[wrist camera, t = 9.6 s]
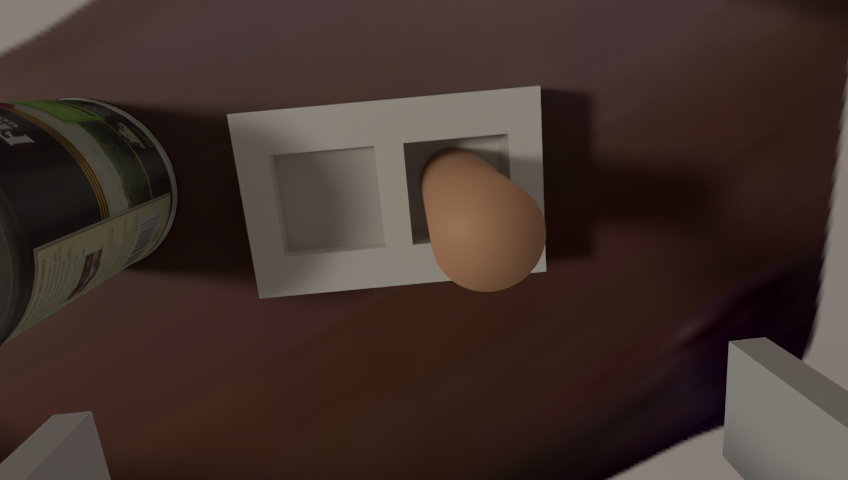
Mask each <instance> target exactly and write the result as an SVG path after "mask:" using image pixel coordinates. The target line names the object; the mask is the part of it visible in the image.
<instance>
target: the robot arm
mask: <svg viewBox="0 0 848 480" xmlns="http://www.w3.org/2000/svg"><path fill="white" fill-rule="evenodd" d="M723 456H724V457H725V459H726V460H727V461H728V462H729V463H730V464H731V465H732V466H733V467H734V468H735V470H736V471H737V472H738V473H739V474H740V475H741V476H742V477H743V478H744V479H745V480H848V391H847V390H845V389H844V388H842V387H841V386H839V385H838V384H836V383H834V382H833V381H831V380H829V379H828V378H827V377H825V376H824V375H822V374H821V373H819V372H817V371H816V370H814V369H813V368H811V367H810V366H808V365H807V364H805V363H804V362H802V361H801V360H799V359H798V358H796V357H795V356H793V355H791V354H790V353H788V352H787V351H785V350H784V349H782V348H781V347H779V346H778V345H776V344H775V343H773V342H772V341H770V340H768V339H767V338H765V337H764V338H755V339H746V340H737V341H729V352H728V370H727V389H726V407H725V426H724V444H723ZM0 480H111V479H110V475H109V472H108V468H107V465H106V461H105V458H104V454H103V451H102V447H101V444H100V440H99V436H98V433H97V429H96V426H95V422H94V419H93V415H92V412H91V411H87V412H78V413H69V414H60V415H53V416H52V417H51V418H49V419H48V420H47V421H46V422H45V423H44V424H43V425H42V426H41V427H40V428H39V429H38V430H37V431H35V432H34V433H33V434H32V435H31V436H30V437H29V438H28V439H27V440H26V441H25V442H24V443H23V444H21V445H20V446H19V447H18V448H17V449H16V450H15V451H14V452H13V453H12V454H11V455H10V456H8V457H7V458H6V459H5V460H4V461H3V462H2V463H1V464H0Z"/></svg>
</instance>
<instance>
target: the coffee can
mask: <svg viewBox="0 0 848 480" xmlns="http://www.w3.org/2000/svg"><path fill="white" fill-rule="evenodd" d="M177 197H178V190H177V184H176V179H175V174H174V171H173V168H172V165H171V162H170V160H169V158H168V156H167V154H166V152H165V151H164V149H163V147H162V146H161V144H160V143H159V141H158V140H157V139H156V138H155V136H154V135H153V134H152V133H151V132H150V131H149V130H148V129H147V128H146V127H145V126H144V125H143V124H142V123H141V122H139V121H138V120H137V119H135V118H134V117H133V116H131V115H130V114H128V113H126V112H125V111H123V110H121V109H119V108H117V107H114V106H112V105H109V104H106V103H103V102H99V101H95V100H90V99H85V98H67V99H59V100H38V101H1V102H0V346H1V345H3V344H4V343H6V342H8V341H9V340H11V339H12V338H14V337H16V336H17V335H19V334H20V333H22V332H24V331H25V330H27V329H29V328H30V327H32V326H33V325H35V324H36V323H38V322H40V321H41V320H43V319H45V318H46V317H48V316H49V315H51V314H53V313H55V312H56V311H58V310H59V309H61V308H62V307H64V306H66V305H67V304H69V303H71V302H72V301H74V300H75V299H77V298H79V297H80V296H82V295H83V294H85V293H87V292H88V291H90V290H91V289H93V288H94V287H96V286H98V285H99V284H101V283H102V282H104V281H105V280H107V279H109V278H110V277H112V276H113V275H115V274H117V273H118V272H120V271H121V270H123V269H125V268H126V267H128V266H129V265H131V264H133V263H136V262H138V261H140V260H141V259H143V258H145V257H146V256H148V255H149V254H151V253H152V252H153V251H154V250H156V249H157V247H158V246H159V245H160V244H161V243H162V241H163V240H164V239H165V237H166V235H167V234H168V232H169V230H170V228H171V226H172V223H173V221H174V218H175V214H176V208H177Z"/></svg>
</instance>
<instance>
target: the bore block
mask: <svg viewBox="0 0 848 480" xmlns="http://www.w3.org/2000/svg"><path fill="white" fill-rule="evenodd" d="M227 119H228V124H229V130H230V136H231V141H232V147H233V153H234V158H235V164H236V169H237V175H238V181H239V186H240V192H241V198H242V203H243V209H244V214H245V220H246V226H247V231H248V237H249V243H250V248H251V254H252V259H253V265H254V271H255V276H256V282H257V288H258V293H259V299H260V298H270V297H281V296H291V295H302V294H312V293H323V292H334V291H344V290H355V289H365V288H376V287H386V286H397V285H408V284H418V283H429V282H439V281H450V280H451V279H450V278H449V277H448V276H447V275H446V274H445V273H444V272H443V271H442V270H441V268H440V267H439V265H438V263H437V261H436V259H435V257H434V254H433V251H432V245H431V240H430V234H429V229H428V223H427V218H426V212H425V206H424V201H423V195H422V190H421V173H422V170H423V167H424V165H425V163H426V162H427V161H428V159H429V158H430V157H431V156H432V155H434V154H435V153H436V152H438V151H440V150H442V149H445V148H449V147H460V148H464V149H467V150H469V151H471V152H473V153H474V154H476V155H477V156H478V157H480V158H481V159H482V160H484V161H485V162H487V163H488V164H489V165H491V166H492V167H493V168H495V169H496V170H497V171H499V172H500V173H501V174H503V175H504V176H506V177H507V178H508V179H510V180H511V181H512V182H514V183H515V184H516V185H518V186H519V187H520V188H522V189H523V190H524V191H526V192H527V193H528V194H529V195H530V196H531V197H532V198H533V199H534V200H535V202H536V203H537V204H538V206H539V208H540V209H541V212H542V214H543V217H544V188H543V156H542V124H541V91H540V86H527V87H515V88H504V89H493V90H482V91H471V92H460V93H449V94H438V95H427V96H416V97H405V98H394V99H383V100H372V101H361V102H350V103H339V104H328V105H317V106H306V107H295V108H284V109H273V110H263V111H252V112H242V113H234V114H227ZM544 221H545V220H544ZM545 271H546V252H545V247H544V250H543V253H542V256H541V258H540V260H539V262H538V263H537V265H536V266H535V268H534V269H533V270H532V271H531V273H534V272H545Z"/></svg>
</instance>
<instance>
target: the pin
mask: <svg viewBox="0 0 848 480" xmlns="http://www.w3.org/2000/svg"><path fill="white" fill-rule="evenodd" d="M421 190H422V195H423V201H424V206H425V212H426V218H427V223H428V229H429V234H430V240H431V245H432V251H433V254H434V257H435V259H436V261H437V263H438V265H439V267H440V268H441V270H442V271H443V272H444V273H445V274H446V275H447V276H448V277H449V278H450V279H451V280H452V281H454V282H455V283H457V284H458V285H460V286H462V287H465V288H467V289H470V290H475V291H482V292H492V291H498V290H502V289H506V288H508V287H511V286H513V285H515V284H517V283H518V282H520V281H521V280H523V279H524V278H525V277H526V276H527V275H528V274H529V273H531V271H532V270H533V269H534V268H535V266H536V265H537V263H538V262H539V260H540V258H541V256H542V253H543V250H544V247H545V241H546V225H545V221H544V217H543V214H542V212H541V209H540V208H539V206H538V204H537V203H536V202H535V200H534V199H533V198H532V197H531V196H530V195H529V194H528V193H527V192H526V191H524V190H523V189H522V188H520V187H519V186H518V185H516V184H515V183H514V182H512V181H511V180H510V179H508V178H507V177H506V176H504V175H503V174H501V173H500V172H499V171H497V170H496V169H495V168H493V167H492V166H491V165H489V164H488V163H487V162H485V161H484V160H482V159H481V158H480V157H478V156H477V155H476V154H474V153H473V152H471V151H469V150H467V149H464V148H460V147H449V148H445V149H442V150H440V151H438V152H436V153H435V154H434V155H432V156H431V157H430V158H429V159H428V161H427V162H426V163H425V165H424V167H423V170H422V173H421Z"/></svg>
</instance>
